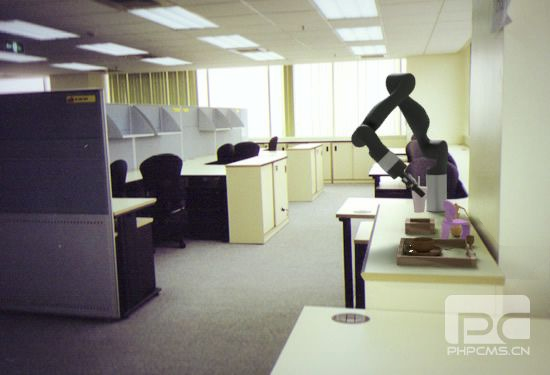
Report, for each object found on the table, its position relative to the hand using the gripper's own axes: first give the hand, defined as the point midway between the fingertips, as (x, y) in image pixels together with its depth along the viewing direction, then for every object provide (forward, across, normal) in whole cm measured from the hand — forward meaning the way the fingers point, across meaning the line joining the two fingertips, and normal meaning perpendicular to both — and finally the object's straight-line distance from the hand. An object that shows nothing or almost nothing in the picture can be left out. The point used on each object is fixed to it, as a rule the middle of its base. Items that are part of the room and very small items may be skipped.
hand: (423, 194), depth 195 cm
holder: (+9, 0, +11) cm, 14 cm away
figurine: (+18, -7, +2) cm, 20 cm away
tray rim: (+13, -36, +8) cm, 39 cm away
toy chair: (+18, -17, +3) cm, 25 cm away
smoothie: (+4, 0, +6) cm, 7 cm away
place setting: (+13, -36, +8) cm, 39 cm away
